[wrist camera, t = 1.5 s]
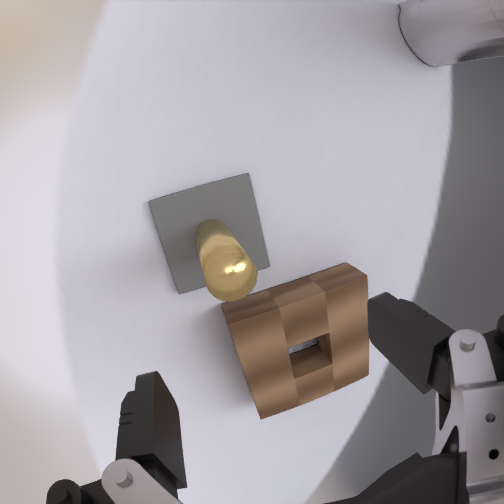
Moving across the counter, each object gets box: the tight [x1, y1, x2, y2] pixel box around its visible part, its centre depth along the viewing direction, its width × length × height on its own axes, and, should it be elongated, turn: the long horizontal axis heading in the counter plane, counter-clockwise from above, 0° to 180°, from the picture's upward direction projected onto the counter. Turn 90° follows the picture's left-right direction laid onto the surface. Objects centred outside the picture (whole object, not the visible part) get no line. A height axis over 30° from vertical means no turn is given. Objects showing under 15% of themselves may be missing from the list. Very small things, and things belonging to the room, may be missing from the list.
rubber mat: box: [149, 173, 270, 294], centre depth 26 cm, size 9×9×1 cm
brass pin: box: [195, 219, 257, 302], centre depth 22 cm, size 3×3×10 cm
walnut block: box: [221, 262, 369, 419], centre depth 30 cm, size 14×14×4 cm
